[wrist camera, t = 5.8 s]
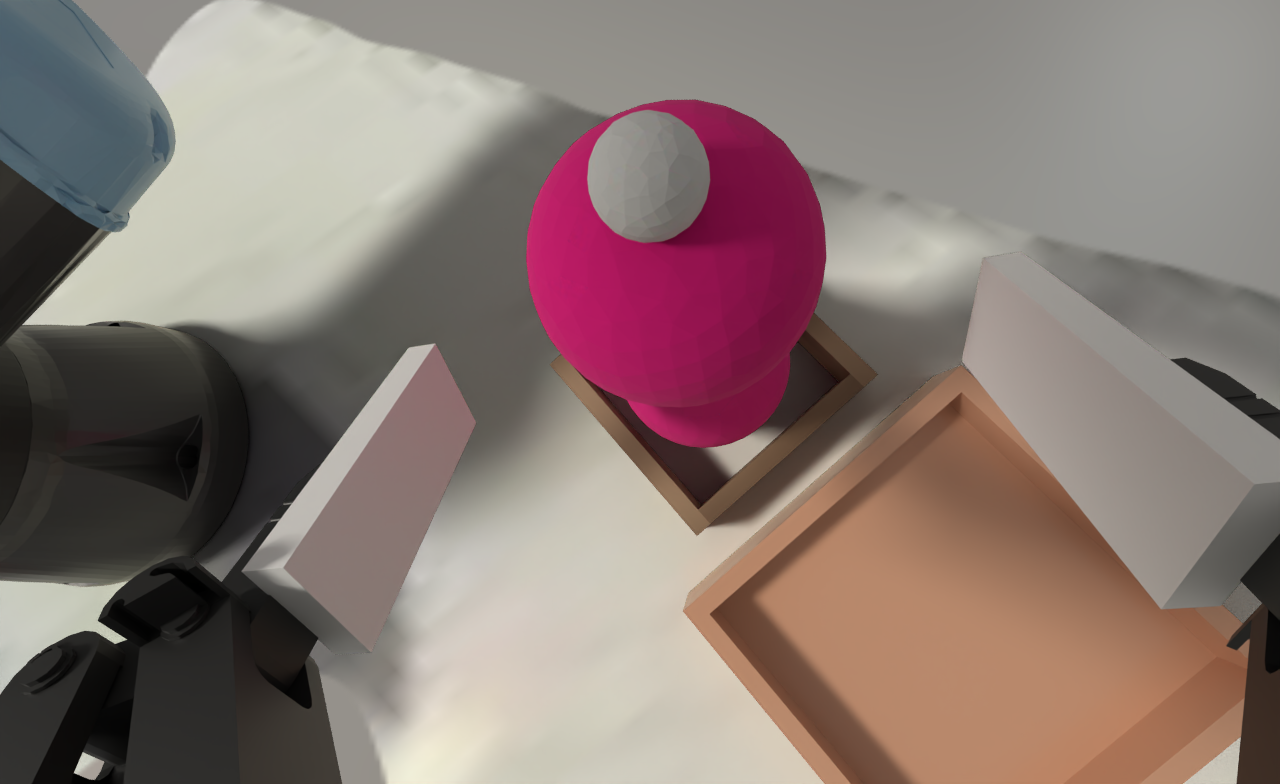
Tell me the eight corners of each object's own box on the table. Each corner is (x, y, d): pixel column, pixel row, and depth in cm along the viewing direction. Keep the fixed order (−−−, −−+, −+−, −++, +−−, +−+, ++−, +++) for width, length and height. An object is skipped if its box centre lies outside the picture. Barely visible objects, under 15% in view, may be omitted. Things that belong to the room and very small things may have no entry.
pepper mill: (645, 456, 26) (394, 456, 7) (630, 319, 27) (374, -29, 8) (790, 440, 25) (1002, 380, 6) (769, 298, 26) (885, -174, 7)
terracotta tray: (688, 592, 25) (682, 610, 22) (933, 376, 24) (961, 365, 21) (936, 890, 22) (968, 958, 19) (1227, 651, 21) (1306, 682, 18)
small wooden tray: (565, 372, 27) (549, 364, 25) (713, 236, 27) (711, 214, 25) (700, 528, 25) (696, 535, 23) (863, 382, 25) (878, 374, 22)
